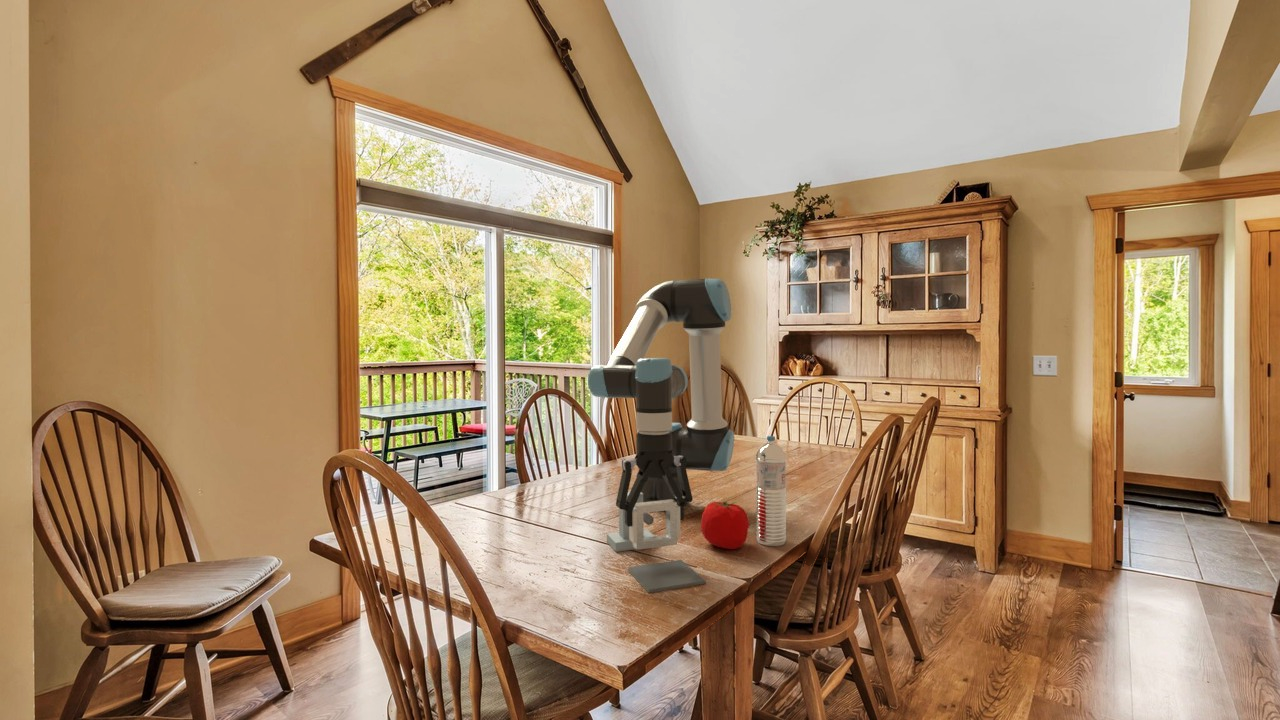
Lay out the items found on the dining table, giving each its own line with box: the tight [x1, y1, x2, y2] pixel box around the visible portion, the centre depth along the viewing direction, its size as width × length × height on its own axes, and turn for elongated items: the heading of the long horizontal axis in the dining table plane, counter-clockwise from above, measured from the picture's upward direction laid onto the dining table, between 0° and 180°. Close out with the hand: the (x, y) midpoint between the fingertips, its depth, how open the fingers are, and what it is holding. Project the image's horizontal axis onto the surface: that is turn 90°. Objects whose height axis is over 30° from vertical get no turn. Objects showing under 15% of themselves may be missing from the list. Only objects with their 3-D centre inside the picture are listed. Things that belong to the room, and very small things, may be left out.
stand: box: [606, 491, 655, 552], centre depth 137 cm, size 16×10×12 cm, turn 20°
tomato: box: [700, 501, 750, 550], centre depth 139 cm, size 11×13×10 cm
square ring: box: [633, 499, 678, 551], centre depth 126 cm, size 9×2×9 cm, turn 110°
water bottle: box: [755, 435, 787, 547], centre depth 141 cm, size 7×7×25 cm
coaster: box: [627, 559, 707, 594], centre depth 121 cm, size 12×12×1 cm
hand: (655, 538), depth 126 cm, fingers closed on square ring, 9 cm apart
